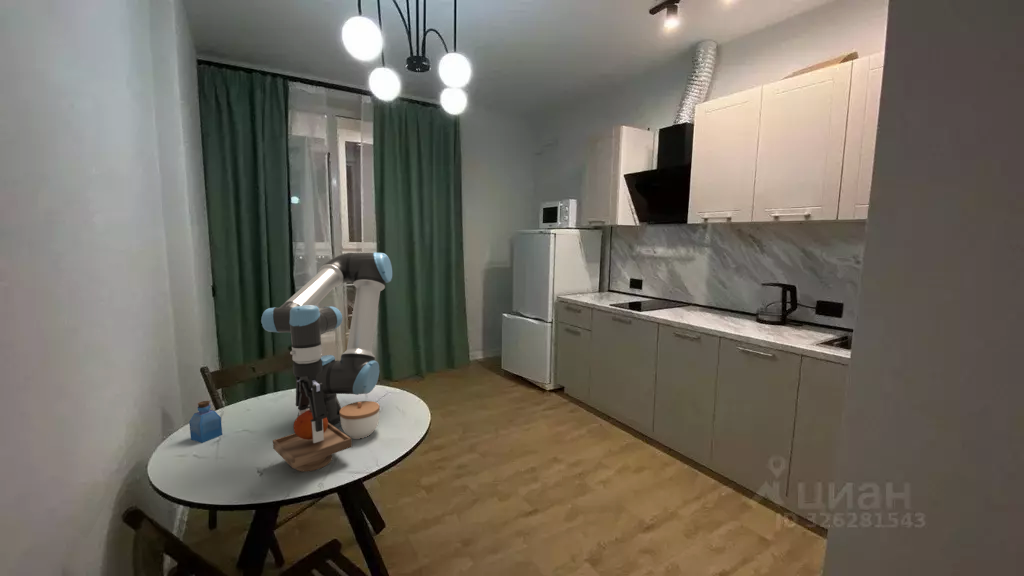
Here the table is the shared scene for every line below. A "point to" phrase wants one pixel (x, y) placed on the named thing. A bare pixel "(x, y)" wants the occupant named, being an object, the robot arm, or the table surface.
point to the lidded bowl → (359, 418)
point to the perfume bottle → (205, 423)
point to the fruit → (306, 425)
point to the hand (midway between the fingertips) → (311, 435)
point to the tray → (311, 449)
